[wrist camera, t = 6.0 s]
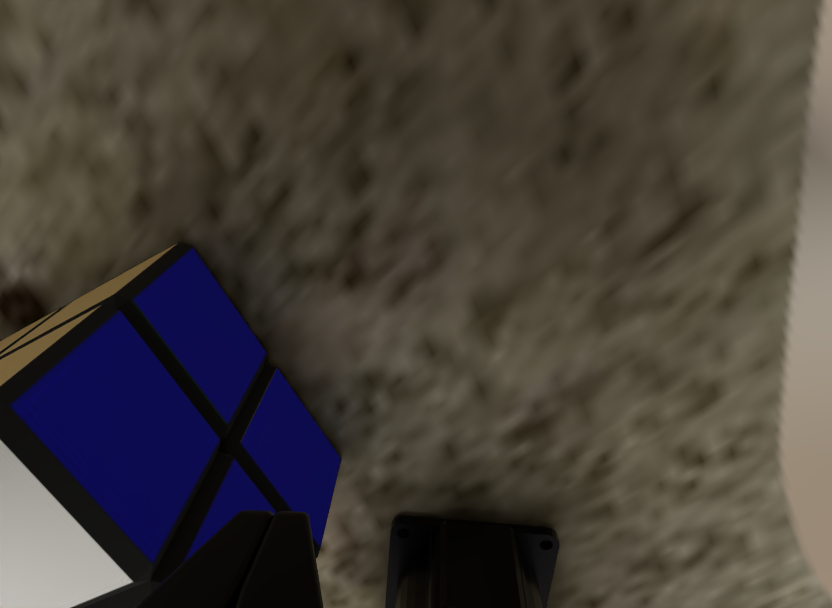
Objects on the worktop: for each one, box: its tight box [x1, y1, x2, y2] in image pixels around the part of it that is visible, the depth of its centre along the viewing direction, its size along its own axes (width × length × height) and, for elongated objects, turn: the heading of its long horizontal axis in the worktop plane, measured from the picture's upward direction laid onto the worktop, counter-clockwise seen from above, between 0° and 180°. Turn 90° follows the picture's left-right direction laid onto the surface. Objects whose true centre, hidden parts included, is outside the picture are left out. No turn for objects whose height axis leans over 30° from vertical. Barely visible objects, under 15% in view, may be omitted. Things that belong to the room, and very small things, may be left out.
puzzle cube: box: [0, 242, 341, 608], centre depth 18 cm, size 10×10×10 cm
